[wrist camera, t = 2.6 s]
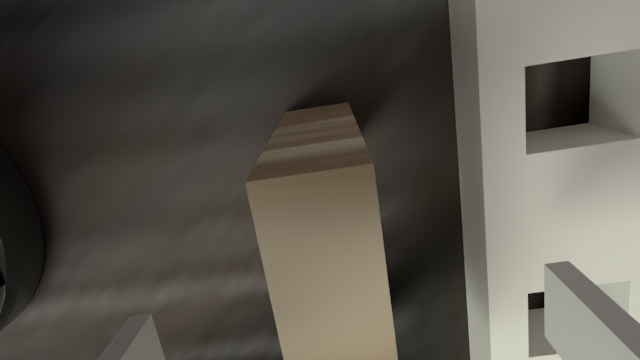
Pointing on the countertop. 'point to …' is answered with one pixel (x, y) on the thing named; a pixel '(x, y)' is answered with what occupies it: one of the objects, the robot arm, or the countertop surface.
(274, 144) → the clip
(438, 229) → the countertop surface
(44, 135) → the countertop surface
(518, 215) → the white flat block
